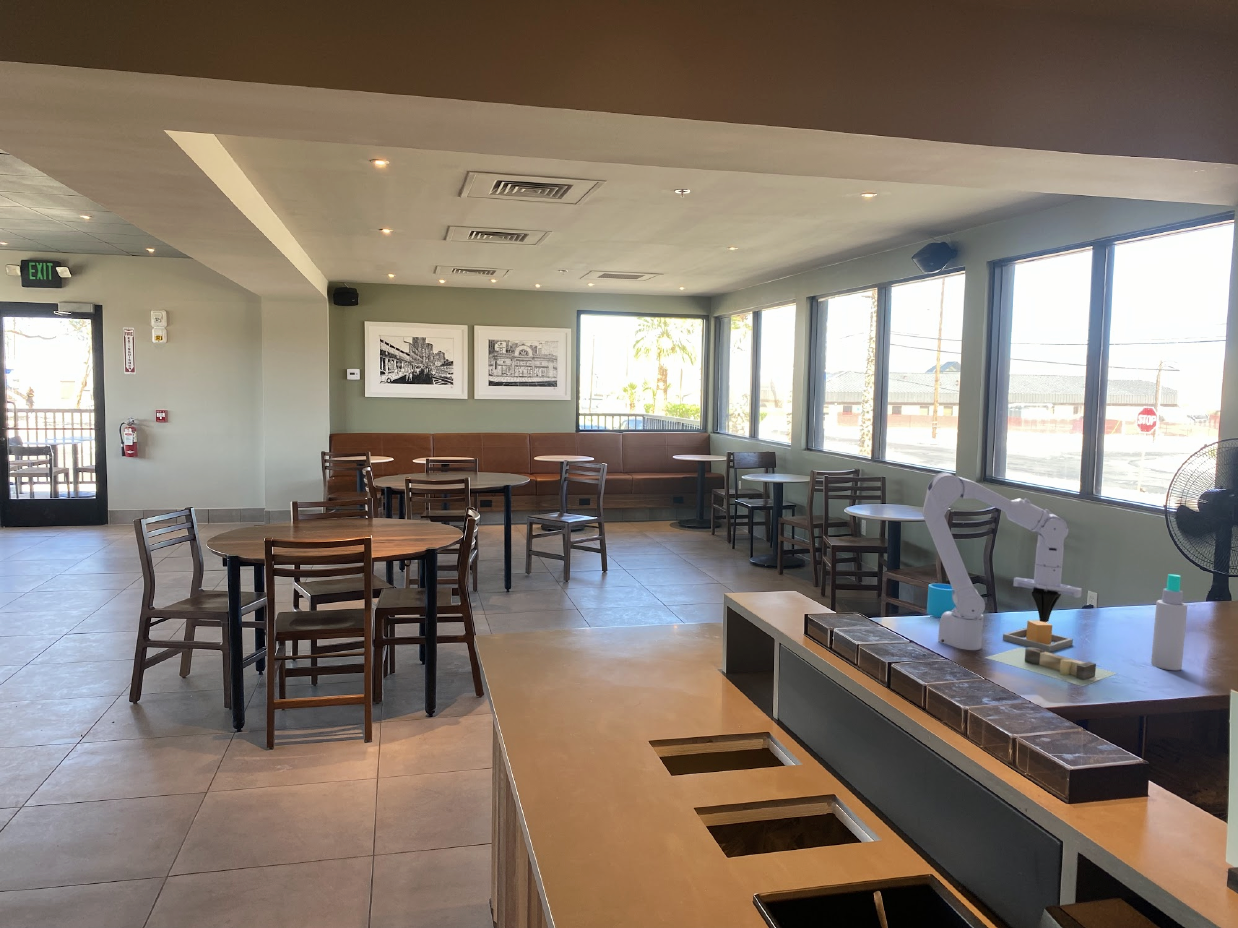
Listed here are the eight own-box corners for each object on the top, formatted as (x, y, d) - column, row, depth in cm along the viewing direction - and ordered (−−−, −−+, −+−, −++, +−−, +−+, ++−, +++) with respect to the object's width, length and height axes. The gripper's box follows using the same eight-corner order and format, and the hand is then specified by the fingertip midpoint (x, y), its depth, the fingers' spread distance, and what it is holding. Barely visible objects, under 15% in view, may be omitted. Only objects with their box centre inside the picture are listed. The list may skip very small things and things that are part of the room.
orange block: (1035, 648, 203) (1037, 625, 203) (1025, 643, 207) (1027, 620, 207) (1050, 648, 204) (1052, 625, 203) (1040, 643, 208) (1042, 620, 207)
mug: (923, 614, 236) (924, 586, 235) (931, 609, 242) (933, 582, 242) (966, 622, 228) (968, 593, 228) (974, 616, 235) (976, 588, 234)
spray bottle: (1152, 668, 193) (1160, 575, 191) (1149, 661, 198) (1157, 571, 196) (1183, 672, 190) (1191, 579, 188) (1179, 665, 195) (1188, 574, 194)
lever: (1019, 660, 190) (1020, 649, 189) (1031, 657, 192) (1032, 646, 192) (1083, 679, 178) (1084, 667, 178) (1095, 675, 181) (1096, 663, 180)
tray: (1002, 645, 207) (1003, 633, 207) (1026, 638, 214) (1027, 627, 214) (1048, 658, 198) (1049, 646, 198) (1072, 650, 205) (1072, 639, 204)
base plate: (984, 663, 192) (985, 644, 191) (1020, 653, 201) (1021, 635, 201) (1082, 692, 174) (1083, 672, 174) (1116, 679, 183) (1118, 660, 183)
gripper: (1010, 561, 197) (1006, 617, 198) (1076, 572, 187) (1071, 630, 188) (1021, 558, 202) (1017, 612, 203) (1086, 568, 192) (1081, 625, 193)
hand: (1044, 621), depth 196 cm, fingers closed
